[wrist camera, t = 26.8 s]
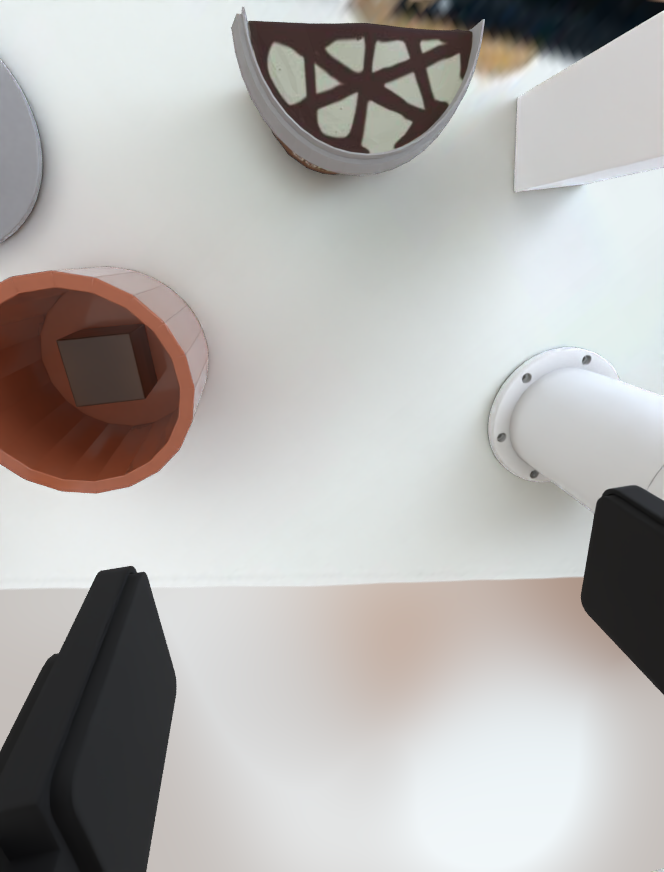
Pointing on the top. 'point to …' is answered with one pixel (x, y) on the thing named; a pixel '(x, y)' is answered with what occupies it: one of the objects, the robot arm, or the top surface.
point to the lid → (17, 156)
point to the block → (108, 364)
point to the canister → (51, 394)
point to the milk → (595, 115)
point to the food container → (354, 88)
